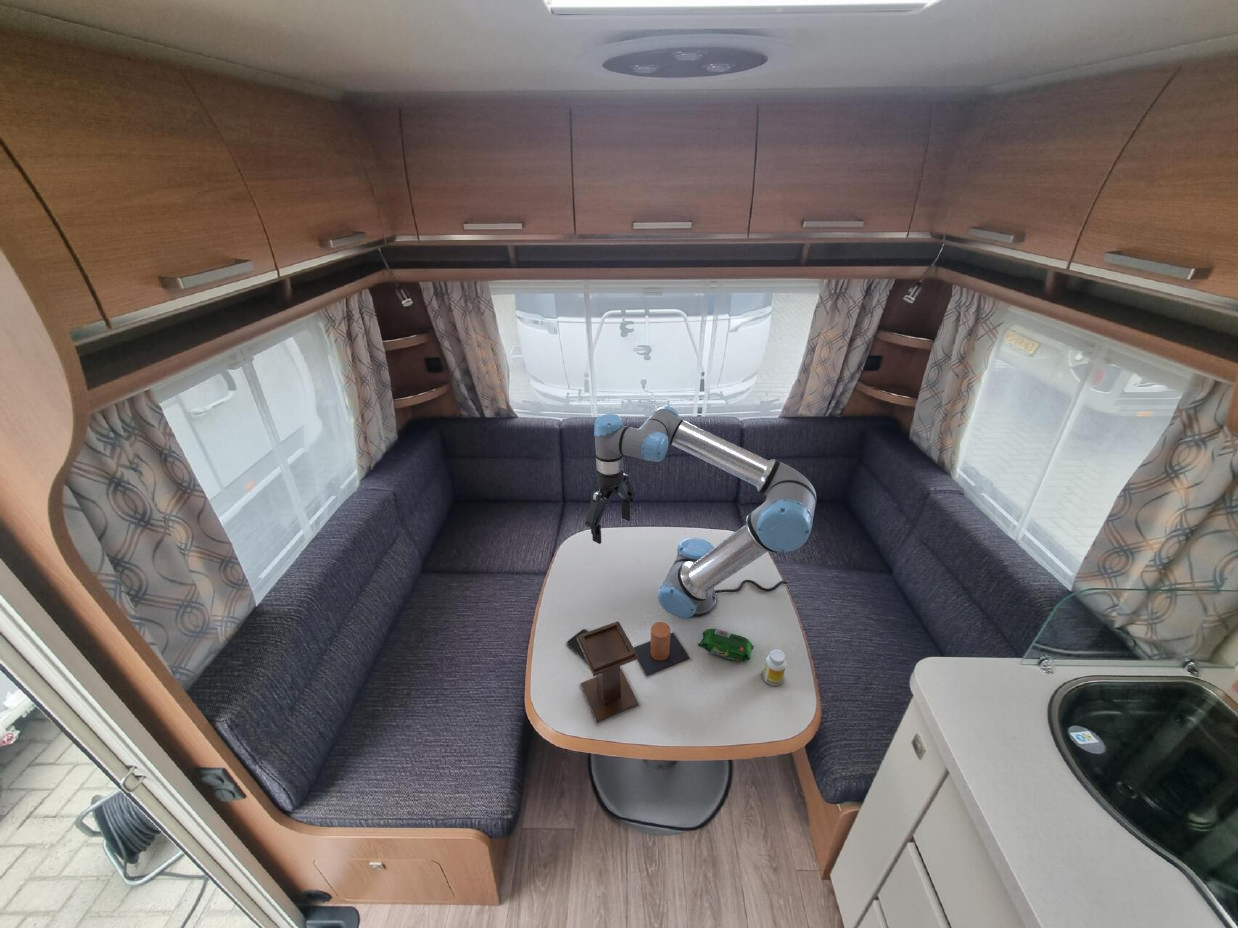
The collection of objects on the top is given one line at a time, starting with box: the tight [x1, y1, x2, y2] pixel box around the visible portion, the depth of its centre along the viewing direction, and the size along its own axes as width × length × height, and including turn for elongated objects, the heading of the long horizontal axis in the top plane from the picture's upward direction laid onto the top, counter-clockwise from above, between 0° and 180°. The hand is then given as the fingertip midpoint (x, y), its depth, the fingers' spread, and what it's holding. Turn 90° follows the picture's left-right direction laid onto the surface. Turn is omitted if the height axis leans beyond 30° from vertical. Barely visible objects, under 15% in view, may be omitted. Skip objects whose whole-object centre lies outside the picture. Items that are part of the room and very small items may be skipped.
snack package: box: [697, 628, 755, 663], centre depth 144 cm, size 7×16×5 cm, turn 69°
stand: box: [577, 620, 639, 724], centre depth 128 cm, size 12×12×21 cm
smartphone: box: [566, 628, 590, 663], centre depth 145 cm, size 8×1×16 cm
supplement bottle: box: [762, 648, 787, 686], centre depth 135 cm, size 5×5×10 cm
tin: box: [650, 621, 672, 661], centre depth 142 cm, size 6×6×10 cm
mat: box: [633, 632, 690, 677], centre depth 144 cm, size 14×10×1 cm
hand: (611, 530), depth 145 cm, fingers open, 13 cm apart
